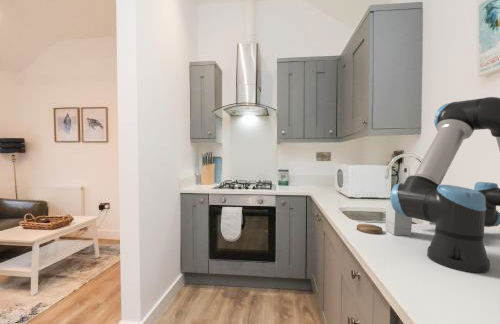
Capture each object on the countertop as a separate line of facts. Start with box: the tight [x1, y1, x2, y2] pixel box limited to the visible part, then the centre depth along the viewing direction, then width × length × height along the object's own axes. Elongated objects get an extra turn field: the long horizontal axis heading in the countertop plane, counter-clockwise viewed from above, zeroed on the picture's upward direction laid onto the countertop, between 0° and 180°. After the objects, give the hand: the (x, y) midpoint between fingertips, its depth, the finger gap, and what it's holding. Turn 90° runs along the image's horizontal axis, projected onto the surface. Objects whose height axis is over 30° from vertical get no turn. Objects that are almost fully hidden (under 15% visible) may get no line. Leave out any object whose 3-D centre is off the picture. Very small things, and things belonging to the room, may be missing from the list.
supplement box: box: [384, 201, 413, 237], centre depth 108 cm, size 7×7×13 cm
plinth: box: [356, 223, 383, 235], centre depth 110 cm, size 10×10×2 cm
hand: (417, 216), depth 109 cm, fingers open, 13 cm apart
